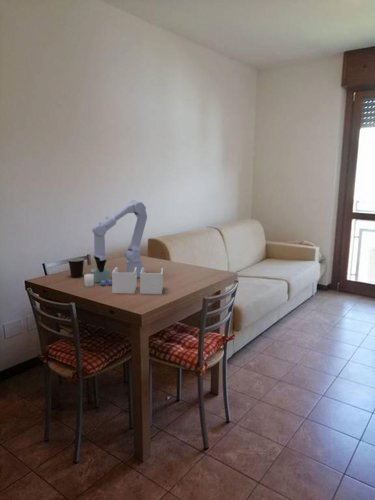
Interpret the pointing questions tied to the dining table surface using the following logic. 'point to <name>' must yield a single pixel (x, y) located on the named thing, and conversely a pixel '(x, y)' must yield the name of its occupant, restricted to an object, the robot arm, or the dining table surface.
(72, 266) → the coffee mug
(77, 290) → the dining table surface
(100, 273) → the green tapered block
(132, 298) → the dining table surface
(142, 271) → the storage container
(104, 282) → the marble
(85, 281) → the white domed capsule
